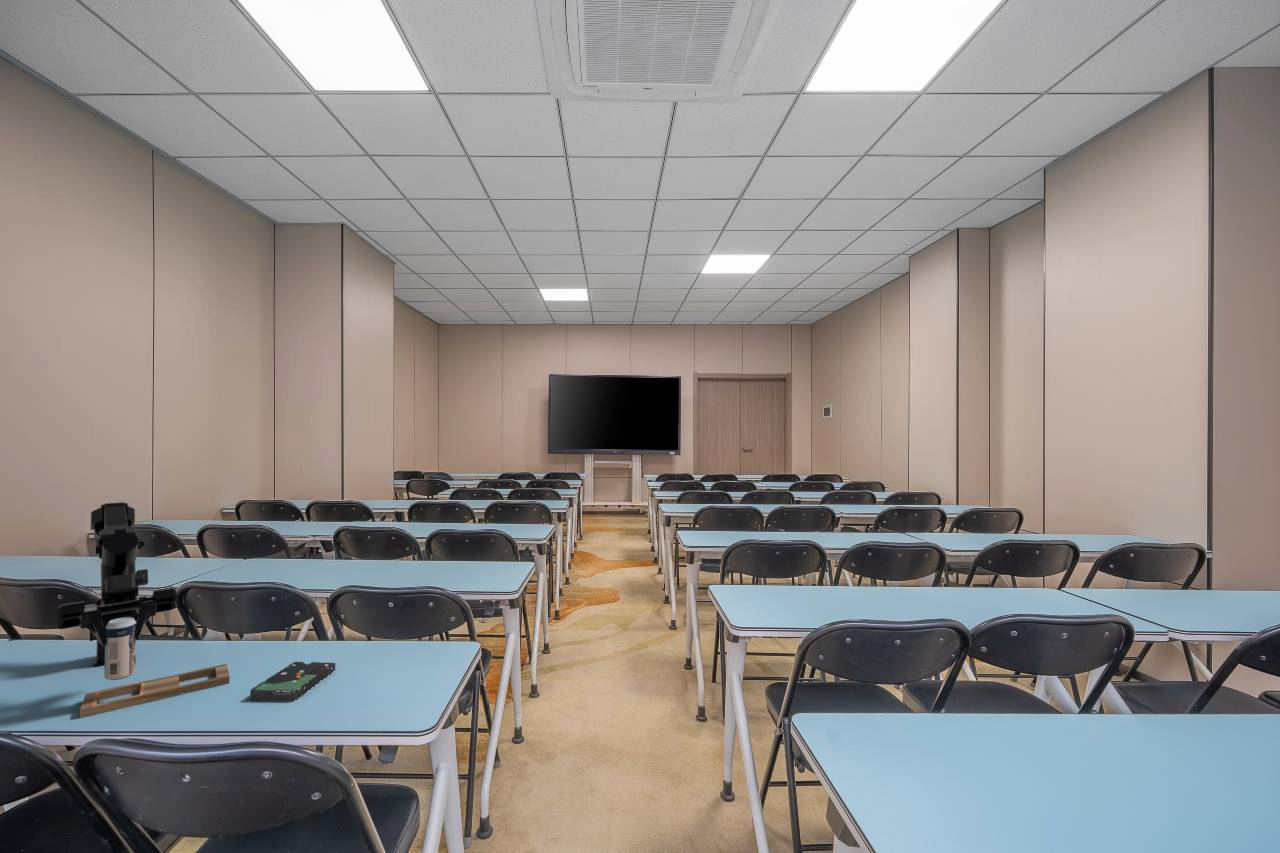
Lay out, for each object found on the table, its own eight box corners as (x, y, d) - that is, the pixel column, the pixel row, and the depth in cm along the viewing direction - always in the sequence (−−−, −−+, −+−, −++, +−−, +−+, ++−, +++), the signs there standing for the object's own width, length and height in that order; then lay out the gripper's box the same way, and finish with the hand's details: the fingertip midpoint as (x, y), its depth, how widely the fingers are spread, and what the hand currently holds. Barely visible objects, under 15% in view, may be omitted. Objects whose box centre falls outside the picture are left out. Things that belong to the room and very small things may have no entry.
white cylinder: (139, 674, 118) (140, 618, 118) (110, 683, 113) (111, 625, 114) (129, 669, 120) (130, 614, 120) (100, 678, 116) (101, 621, 116)
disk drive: (293, 673, 132) (248, 702, 117) (293, 661, 132) (249, 689, 117) (336, 673, 132) (296, 703, 117) (336, 662, 132) (297, 689, 117)
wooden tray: (85, 701, 116) (85, 693, 116) (226, 670, 132) (226, 663, 132) (79, 718, 109) (79, 710, 110) (229, 683, 125) (229, 676, 125)
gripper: (58, 566, 113) (56, 634, 105) (176, 552, 126) (182, 611, 119) (58, 595, 118) (56, 662, 111) (171, 579, 132) (176, 638, 124)
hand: (121, 642), depth 116 cm, fingers closed on white cylinder, 5 cm apart
